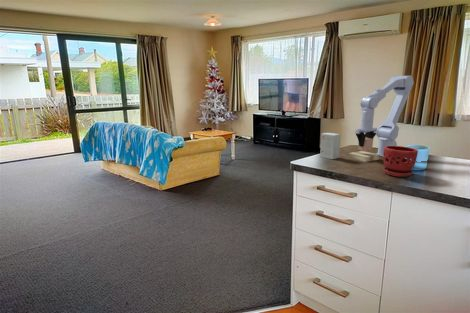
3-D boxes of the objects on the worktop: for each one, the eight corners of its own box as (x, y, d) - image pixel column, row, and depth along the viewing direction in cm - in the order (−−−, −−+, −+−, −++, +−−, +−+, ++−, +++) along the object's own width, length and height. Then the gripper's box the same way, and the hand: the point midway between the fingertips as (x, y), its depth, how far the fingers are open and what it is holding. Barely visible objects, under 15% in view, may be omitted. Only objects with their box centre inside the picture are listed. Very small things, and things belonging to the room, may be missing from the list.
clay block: (364, 148, 168) (365, 137, 166) (371, 150, 164) (373, 138, 162) (357, 149, 166) (359, 138, 164) (365, 151, 161) (366, 139, 160)
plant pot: (414, 180, 129) (418, 152, 126) (380, 175, 136) (383, 149, 133) (414, 172, 140) (417, 146, 138) (382, 168, 147) (385, 143, 144)
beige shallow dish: (362, 156, 173) (362, 150, 173) (379, 160, 164) (379, 154, 163) (348, 158, 168) (348, 153, 168) (365, 162, 159) (365, 157, 158)
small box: (339, 157, 168) (341, 134, 165) (332, 159, 164) (334, 135, 161) (326, 155, 174) (328, 132, 171) (319, 156, 170) (321, 133, 167)
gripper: (370, 118, 168) (367, 143, 171) (351, 120, 161) (349, 145, 164) (381, 120, 162) (378, 145, 165) (362, 121, 155) (360, 148, 158)
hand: (364, 145), depth 164 cm, fingers closed on clay block, 5 cm apart
